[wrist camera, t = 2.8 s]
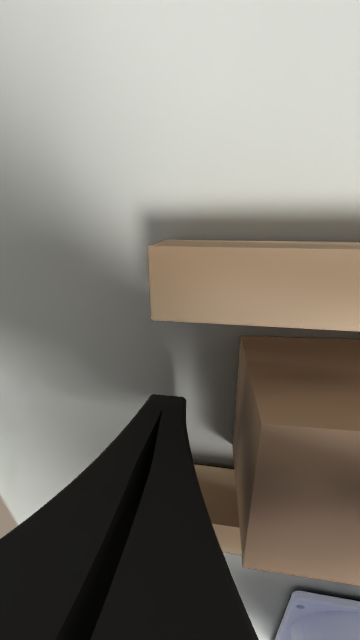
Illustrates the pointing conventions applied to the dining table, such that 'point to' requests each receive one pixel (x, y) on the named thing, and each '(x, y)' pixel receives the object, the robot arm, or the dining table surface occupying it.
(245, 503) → the tan wooden block
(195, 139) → the dining table surface
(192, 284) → the trap lane
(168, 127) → the dining table surface
